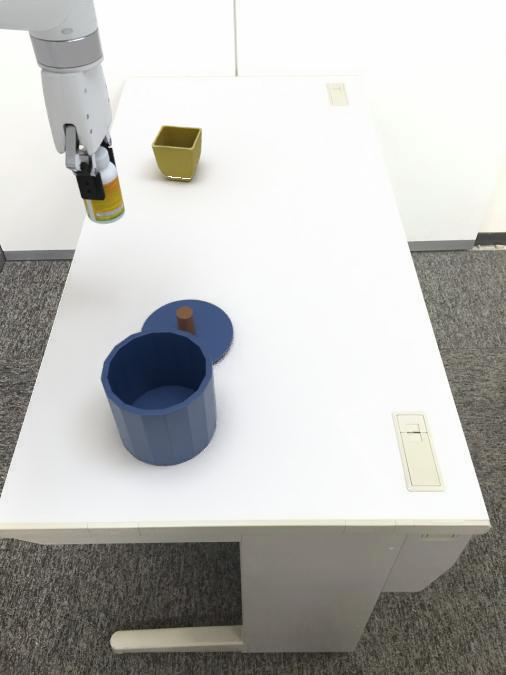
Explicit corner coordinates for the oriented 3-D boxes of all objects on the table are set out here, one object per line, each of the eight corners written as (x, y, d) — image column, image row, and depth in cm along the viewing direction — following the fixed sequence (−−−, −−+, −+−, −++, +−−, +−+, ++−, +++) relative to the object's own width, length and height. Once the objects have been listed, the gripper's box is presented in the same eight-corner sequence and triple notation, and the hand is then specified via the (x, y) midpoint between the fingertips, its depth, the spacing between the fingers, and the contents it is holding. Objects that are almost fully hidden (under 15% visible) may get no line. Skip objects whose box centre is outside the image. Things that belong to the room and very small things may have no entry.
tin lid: (158, 386, 80) (153, 362, 75) (130, 320, 88) (124, 295, 84) (248, 354, 84) (248, 330, 79) (213, 294, 92) (211, 269, 88)
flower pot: (156, 184, 114) (150, 145, 108) (167, 162, 120) (162, 124, 113) (196, 188, 114) (193, 149, 107) (205, 165, 119) (202, 127, 112)
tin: (135, 481, 70) (118, 431, 60) (109, 402, 78) (89, 347, 68) (231, 443, 73) (229, 390, 64) (196, 371, 81) (189, 315, 72)
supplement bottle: (133, 210, 78) (121, 149, 71) (108, 229, 75) (93, 167, 68) (105, 199, 80) (91, 138, 73) (79, 217, 77) (62, 155, 70)
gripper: (59, 18, 66) (91, 152, 80) (6, 76, 55) (53, 221, 69) (118, 21, 66) (140, 155, 80) (77, 80, 55) (110, 224, 68)
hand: (99, 184), depth 74 cm, fingers closed on supplement bottle, 5 cm apart
